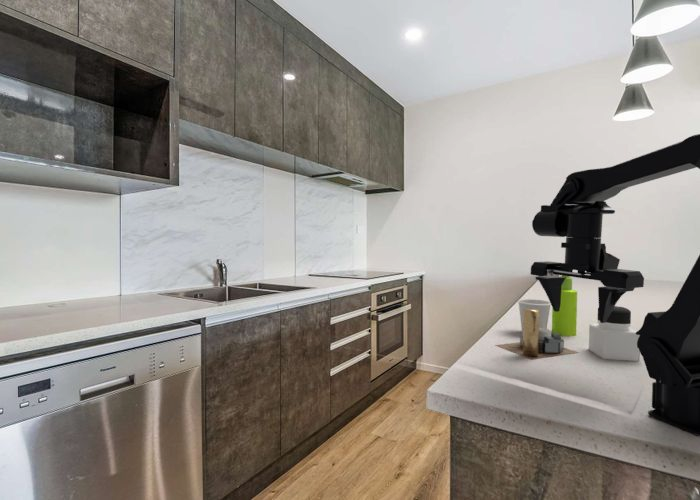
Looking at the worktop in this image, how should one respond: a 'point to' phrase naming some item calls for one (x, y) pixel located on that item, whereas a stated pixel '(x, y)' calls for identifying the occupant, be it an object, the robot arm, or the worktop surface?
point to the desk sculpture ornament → (537, 336)
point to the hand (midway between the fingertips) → (578, 316)
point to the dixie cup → (539, 305)
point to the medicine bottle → (614, 337)
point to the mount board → (542, 333)
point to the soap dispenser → (566, 311)
